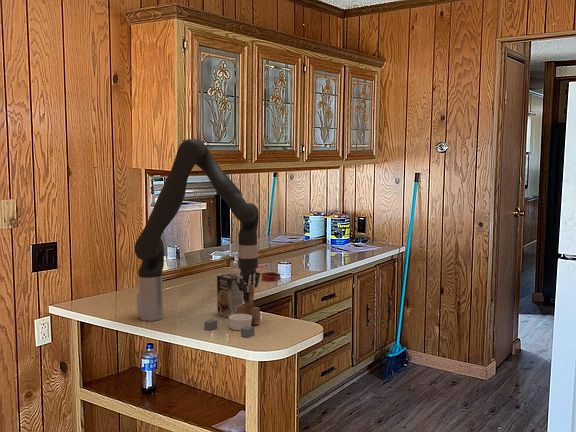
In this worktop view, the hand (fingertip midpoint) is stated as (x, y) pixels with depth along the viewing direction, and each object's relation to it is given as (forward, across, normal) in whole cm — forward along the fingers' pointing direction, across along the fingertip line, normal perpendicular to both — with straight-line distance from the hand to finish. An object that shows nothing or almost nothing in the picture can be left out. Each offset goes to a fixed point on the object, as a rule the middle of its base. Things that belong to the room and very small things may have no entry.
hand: (248, 300), depth 240 cm
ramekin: (+9, +6, 0) cm, 11 cm away
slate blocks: (+9, +13, 0) cm, 16 cm away
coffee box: (+10, -6, -14) cm, 18 cm away
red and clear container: (+10, -73, -37) cm, 82 cm away
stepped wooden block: (+9, 0, 0) cm, 9 cm away
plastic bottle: (+10, -17, -19) cm, 28 cm away
